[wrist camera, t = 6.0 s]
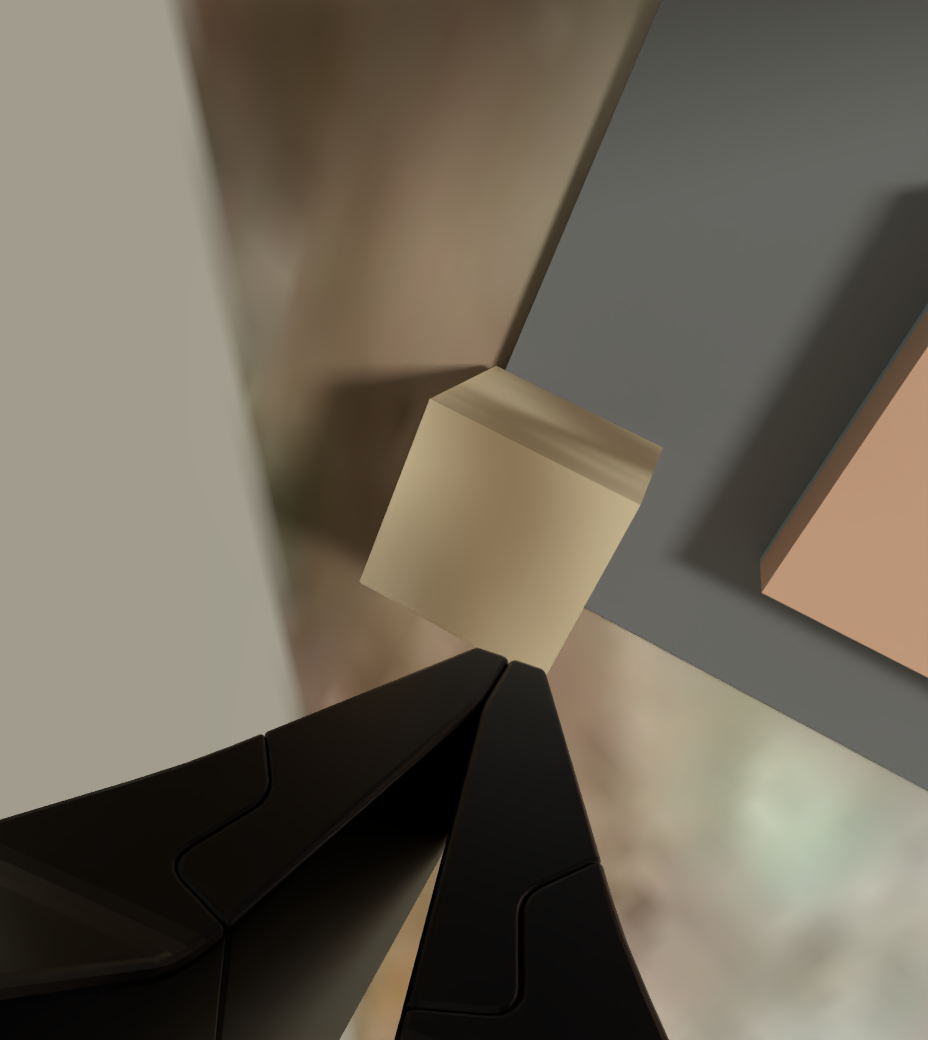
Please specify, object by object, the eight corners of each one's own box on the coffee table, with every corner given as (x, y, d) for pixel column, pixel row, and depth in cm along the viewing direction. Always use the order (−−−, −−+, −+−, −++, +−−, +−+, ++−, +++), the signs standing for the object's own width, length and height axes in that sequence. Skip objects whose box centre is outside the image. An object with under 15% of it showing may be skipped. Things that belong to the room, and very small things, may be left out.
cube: (662, 447, 18) (640, 505, 14) (581, 596, 20) (541, 683, 16) (496, 365, 19) (429, 398, 15) (433, 517, 21) (359, 581, 17)
